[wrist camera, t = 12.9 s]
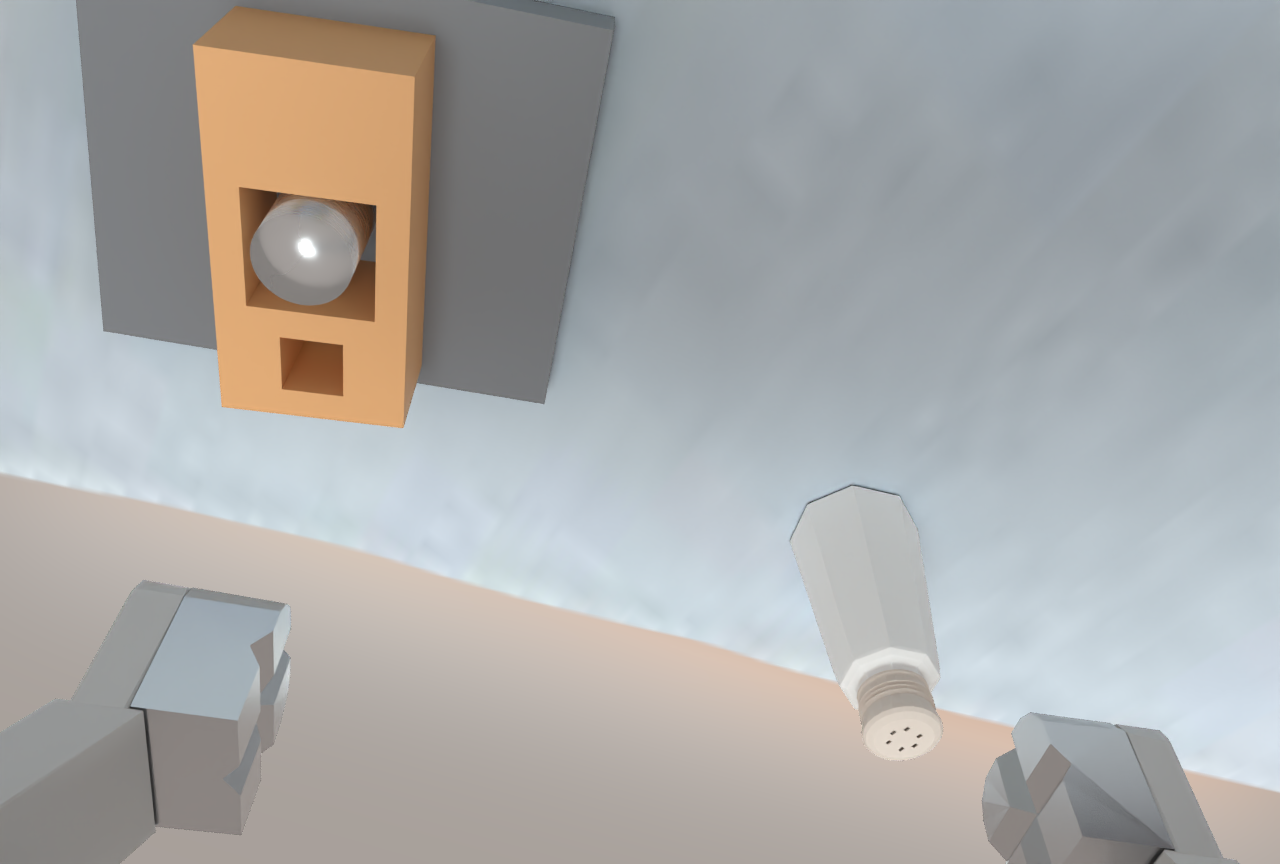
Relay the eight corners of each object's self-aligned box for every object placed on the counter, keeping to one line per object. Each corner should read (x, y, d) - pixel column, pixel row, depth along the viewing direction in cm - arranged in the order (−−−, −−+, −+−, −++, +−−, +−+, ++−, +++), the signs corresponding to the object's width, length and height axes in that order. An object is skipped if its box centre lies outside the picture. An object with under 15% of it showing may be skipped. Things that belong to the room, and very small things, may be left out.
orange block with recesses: (235, 6, 34) (192, 44, 30) (435, 35, 34) (414, 76, 31) (255, 345, 40) (221, 406, 37) (421, 365, 41) (403, 428, 38)
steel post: (394, 142, 38) (355, 224, 32) (388, 222, 39) (350, 313, 34) (304, 125, 37) (250, 204, 32) (301, 207, 39) (249, 295, 34)
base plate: (614, 16, 35) (613, 30, 34) (546, 382, 43) (544, 404, 42) (89, -93, 33) (69, -83, 32) (119, 310, 41) (103, 330, 40)
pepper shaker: (943, 524, 48) (1015, 730, 39) (853, 598, 50) (901, 807, 41) (852, 461, 46) (906, 662, 37) (763, 541, 48) (793, 748, 39)
